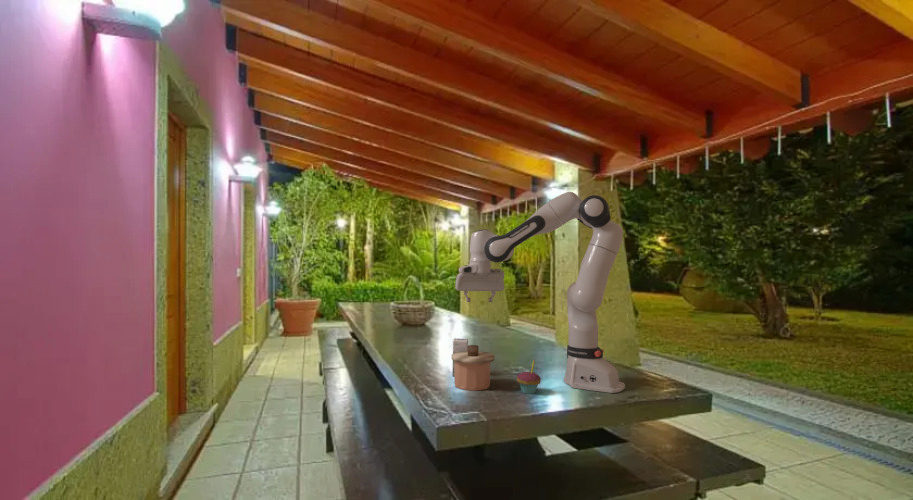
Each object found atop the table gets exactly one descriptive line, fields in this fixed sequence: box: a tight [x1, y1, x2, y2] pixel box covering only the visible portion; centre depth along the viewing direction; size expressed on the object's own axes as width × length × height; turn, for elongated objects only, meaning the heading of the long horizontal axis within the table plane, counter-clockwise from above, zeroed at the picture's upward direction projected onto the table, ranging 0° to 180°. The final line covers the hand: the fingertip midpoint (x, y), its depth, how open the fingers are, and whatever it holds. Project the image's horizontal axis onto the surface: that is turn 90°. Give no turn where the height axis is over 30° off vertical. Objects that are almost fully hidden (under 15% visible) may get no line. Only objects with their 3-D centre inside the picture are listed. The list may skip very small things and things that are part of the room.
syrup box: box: [451, 337, 469, 378], centre depth 186 cm, size 6×6×14 cm
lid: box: [451, 344, 496, 364], centre depth 171 cm, size 16×16×5 cm
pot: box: [454, 361, 491, 392], centre depth 171 cm, size 13×13×10 cm
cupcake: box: [516, 358, 542, 395], centre depth 165 cm, size 9×8×12 cm
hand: (479, 301), depth 192 cm, fingers open, 8 cm apart
